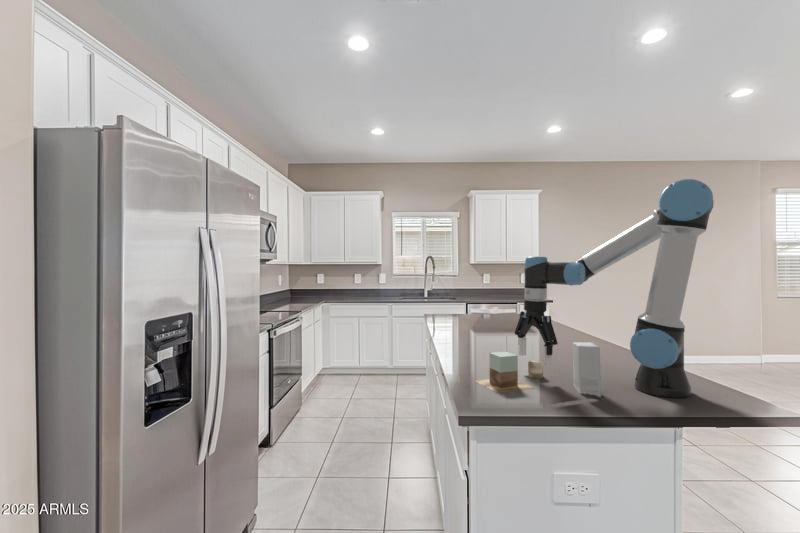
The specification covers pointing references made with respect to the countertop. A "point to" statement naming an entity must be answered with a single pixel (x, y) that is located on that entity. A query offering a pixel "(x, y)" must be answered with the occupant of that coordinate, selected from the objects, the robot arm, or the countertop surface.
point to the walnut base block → (503, 378)
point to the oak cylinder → (535, 369)
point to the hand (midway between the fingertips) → (534, 359)
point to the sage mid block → (503, 361)
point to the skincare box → (586, 368)
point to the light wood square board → (499, 390)
